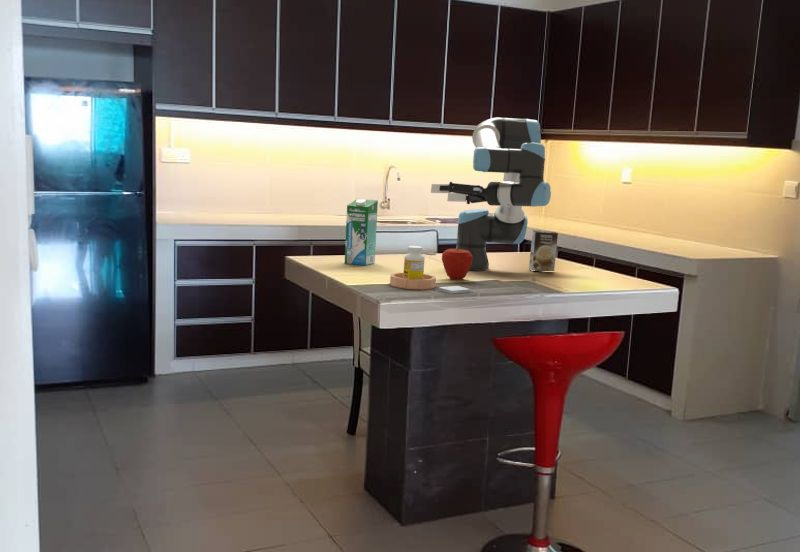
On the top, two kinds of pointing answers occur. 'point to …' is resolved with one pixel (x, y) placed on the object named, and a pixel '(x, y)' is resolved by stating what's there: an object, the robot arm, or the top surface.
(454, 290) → the light grey flat block
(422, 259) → the supplement bottle
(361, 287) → the top surface
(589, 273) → the top surface
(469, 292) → the mat
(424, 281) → the bowl
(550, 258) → the coffee box
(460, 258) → the apple
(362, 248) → the milk carton
